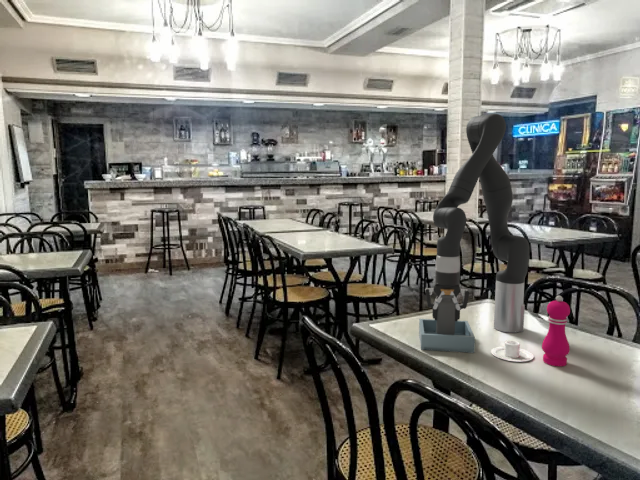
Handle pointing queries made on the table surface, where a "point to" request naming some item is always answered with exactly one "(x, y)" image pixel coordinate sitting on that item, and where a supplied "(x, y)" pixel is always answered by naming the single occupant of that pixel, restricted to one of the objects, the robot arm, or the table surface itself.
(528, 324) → the table surface
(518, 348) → the candle holder
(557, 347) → the pepper mill
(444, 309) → the bottle
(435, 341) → the tote
